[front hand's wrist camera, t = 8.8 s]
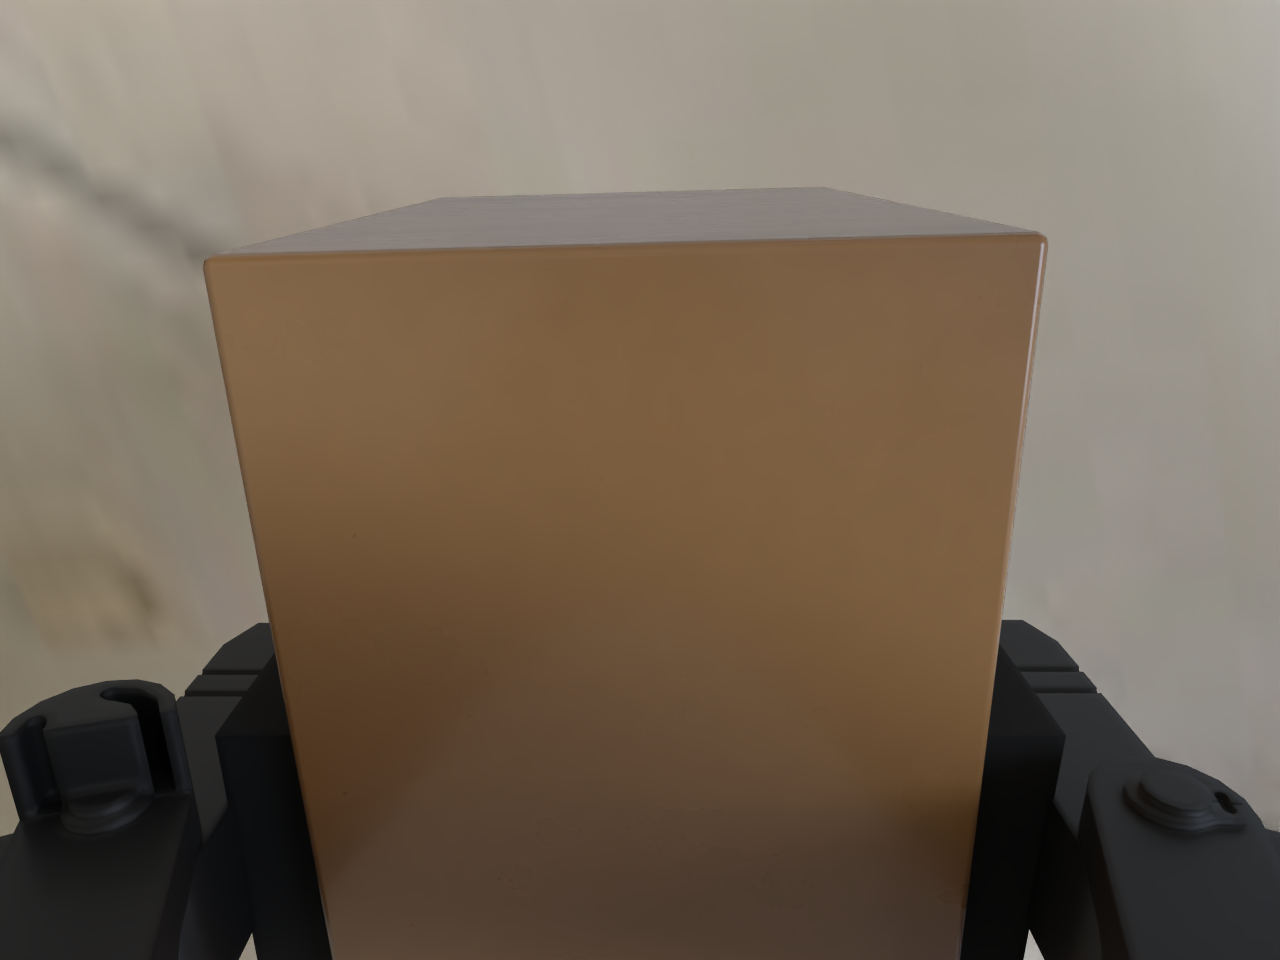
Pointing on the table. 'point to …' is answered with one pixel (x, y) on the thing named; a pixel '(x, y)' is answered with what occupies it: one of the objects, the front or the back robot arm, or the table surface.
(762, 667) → the post
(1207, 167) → the table surface
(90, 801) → the front robot arm
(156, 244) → the table surface
